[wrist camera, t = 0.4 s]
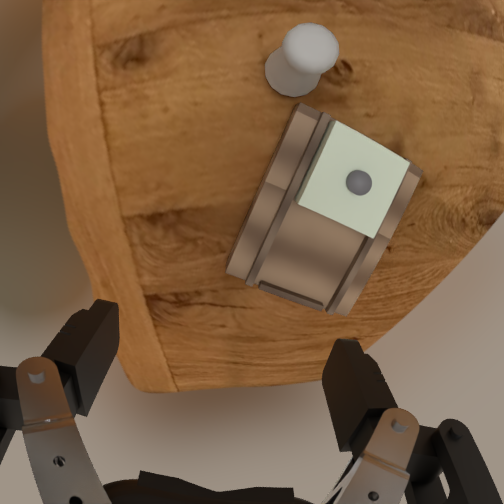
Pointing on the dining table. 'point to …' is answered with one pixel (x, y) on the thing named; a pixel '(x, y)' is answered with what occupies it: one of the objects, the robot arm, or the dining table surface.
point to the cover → (351, 179)
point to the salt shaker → (301, 59)
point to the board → (308, 229)
